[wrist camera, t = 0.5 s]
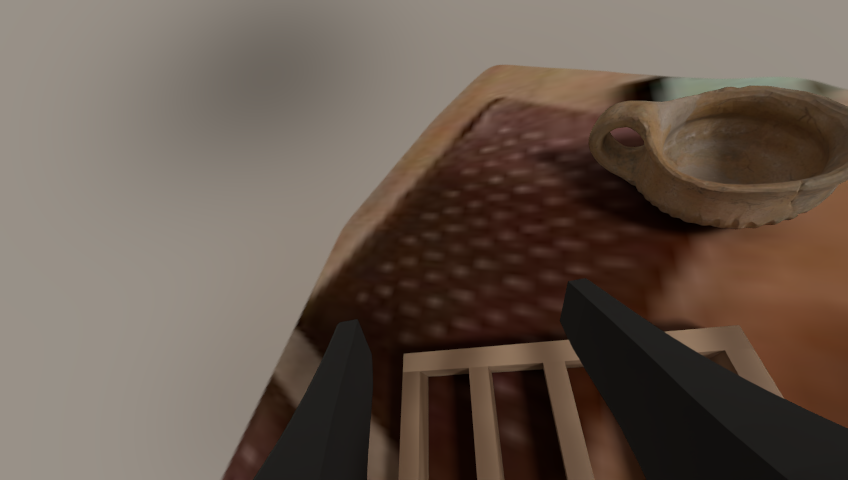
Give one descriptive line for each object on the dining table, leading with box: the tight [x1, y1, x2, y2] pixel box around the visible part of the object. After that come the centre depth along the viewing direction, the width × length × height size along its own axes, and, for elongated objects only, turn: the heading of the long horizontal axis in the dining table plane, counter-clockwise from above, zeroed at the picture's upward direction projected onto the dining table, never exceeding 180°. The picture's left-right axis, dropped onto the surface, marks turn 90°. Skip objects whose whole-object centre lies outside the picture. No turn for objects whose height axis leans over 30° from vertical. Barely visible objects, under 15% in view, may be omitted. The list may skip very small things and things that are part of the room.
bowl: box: [589, 86, 848, 229], centre depth 28 cm, size 18×14×10 cm
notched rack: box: [398, 325, 783, 480], centre depth 22 cm, size 26×13×2 cm, turn 90°
